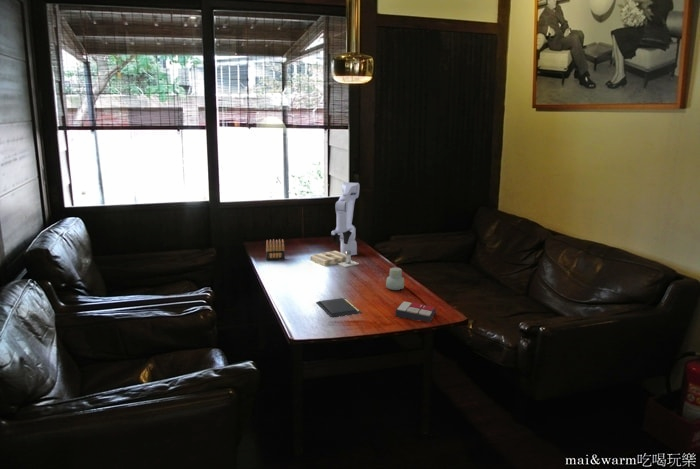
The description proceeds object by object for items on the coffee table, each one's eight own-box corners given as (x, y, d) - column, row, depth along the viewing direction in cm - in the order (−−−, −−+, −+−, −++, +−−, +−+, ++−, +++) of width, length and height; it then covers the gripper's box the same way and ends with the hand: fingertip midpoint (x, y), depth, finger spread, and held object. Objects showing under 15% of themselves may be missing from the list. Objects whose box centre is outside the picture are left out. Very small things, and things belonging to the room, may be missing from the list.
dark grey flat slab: (315, 299, 243) (346, 295, 249) (315, 303, 244) (346, 299, 249) (329, 315, 225) (363, 310, 230) (329, 319, 225) (362, 314, 231)
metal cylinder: (346, 262, 304) (346, 250, 303) (351, 262, 303) (351, 250, 302) (344, 263, 301) (344, 251, 300) (349, 264, 301) (349, 252, 299)
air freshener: (402, 292, 257) (403, 272, 255) (385, 291, 259) (386, 271, 256) (404, 285, 268) (405, 266, 265) (388, 284, 269) (388, 265, 267)
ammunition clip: (284, 258, 312) (284, 238, 310) (284, 259, 311) (284, 239, 308) (266, 259, 310) (265, 239, 307) (266, 260, 309) (265, 239, 306)
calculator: (430, 315, 221) (395, 308, 226) (429, 324, 222) (394, 317, 227) (436, 306, 231) (403, 299, 236) (435, 315, 232) (402, 308, 237)
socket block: (335, 255, 320) (335, 250, 319) (349, 260, 309) (349, 255, 309) (310, 260, 309) (310, 255, 308) (324, 266, 298) (324, 260, 298)
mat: (351, 261, 308) (351, 260, 308) (359, 264, 303) (359, 263, 303) (337, 264, 302) (337, 263, 302) (345, 267, 297) (345, 266, 297)
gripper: (345, 219, 312) (344, 241, 315) (327, 222, 301) (327, 246, 304) (354, 220, 307) (353, 243, 310) (336, 224, 297) (336, 248, 300)
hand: (341, 245), depth 307 cm, fingers open, 7 cm apart
